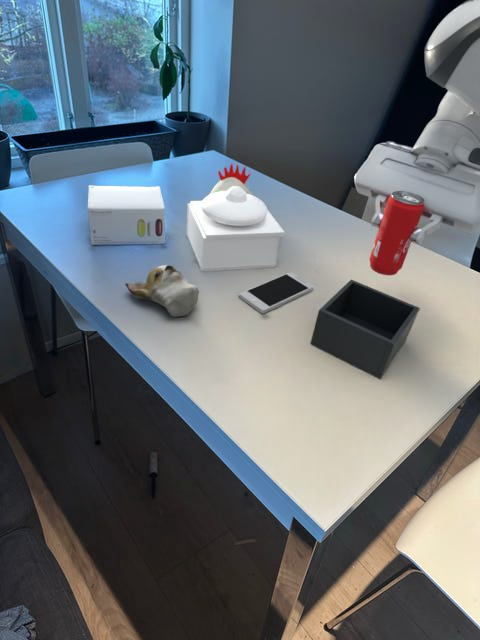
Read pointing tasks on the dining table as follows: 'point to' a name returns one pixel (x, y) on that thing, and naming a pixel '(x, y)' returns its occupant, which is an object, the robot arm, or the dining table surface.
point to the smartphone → (276, 292)
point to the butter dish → (232, 232)
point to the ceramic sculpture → (167, 290)
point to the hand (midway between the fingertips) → (394, 233)
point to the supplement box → (126, 215)
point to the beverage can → (396, 232)
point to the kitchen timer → (232, 180)
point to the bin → (363, 327)
